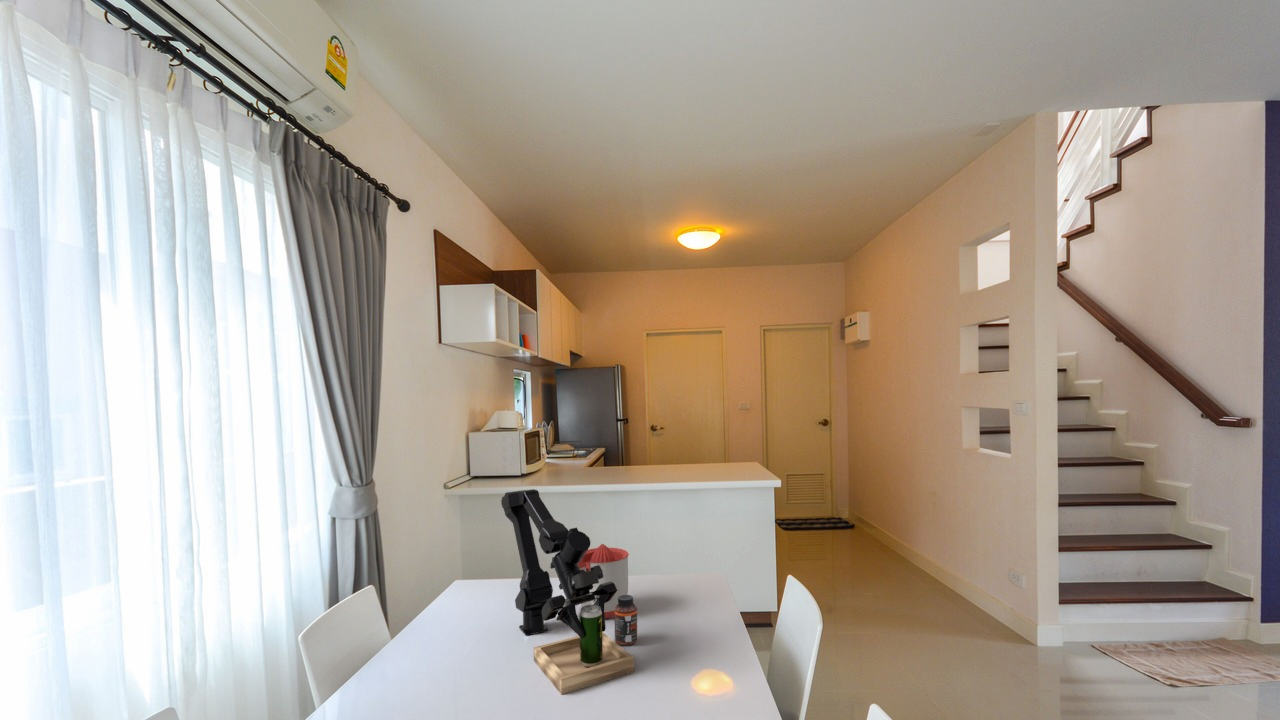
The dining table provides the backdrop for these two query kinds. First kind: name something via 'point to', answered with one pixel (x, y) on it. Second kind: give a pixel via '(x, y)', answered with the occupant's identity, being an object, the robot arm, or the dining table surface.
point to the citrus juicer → (608, 572)
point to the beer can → (591, 635)
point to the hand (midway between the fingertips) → (594, 634)
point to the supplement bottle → (625, 621)
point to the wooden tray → (568, 670)
